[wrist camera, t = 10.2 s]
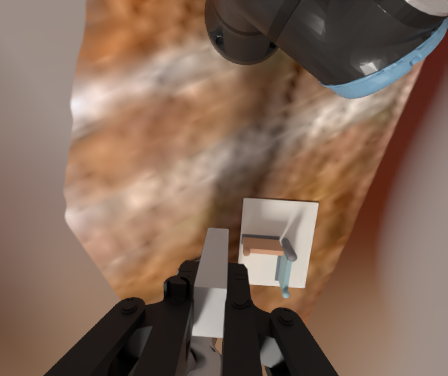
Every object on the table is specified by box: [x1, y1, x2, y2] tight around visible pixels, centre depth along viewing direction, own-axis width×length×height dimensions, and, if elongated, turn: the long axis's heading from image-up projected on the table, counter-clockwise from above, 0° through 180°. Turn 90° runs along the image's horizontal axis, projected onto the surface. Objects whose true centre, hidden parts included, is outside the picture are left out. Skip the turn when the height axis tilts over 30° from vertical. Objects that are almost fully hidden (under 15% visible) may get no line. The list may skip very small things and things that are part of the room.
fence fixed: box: [278, 238, 297, 298], centre depth 49 cm, size 11×2×7 cm, turn 177°
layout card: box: [238, 198, 319, 288], centre depth 52 cm, size 21×16×1 cm
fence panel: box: [243, 237, 284, 256], centre depth 48 cm, size 8×1×6 cm, turn 86°
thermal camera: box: [176, 259, 222, 376], centre depth 38 cm, size 12×13×35 cm
